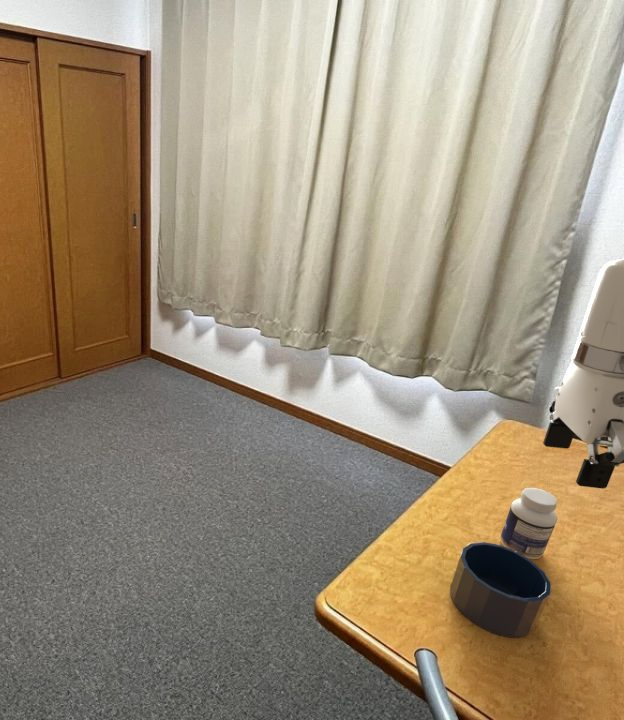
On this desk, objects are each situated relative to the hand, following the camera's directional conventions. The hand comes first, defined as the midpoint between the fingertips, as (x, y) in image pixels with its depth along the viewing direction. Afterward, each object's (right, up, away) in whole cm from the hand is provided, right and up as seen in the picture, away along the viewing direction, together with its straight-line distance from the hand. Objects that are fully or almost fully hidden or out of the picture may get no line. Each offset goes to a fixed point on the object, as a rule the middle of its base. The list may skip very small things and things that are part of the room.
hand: (571, 465), depth 69 cm
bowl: (-15, -18, -5) cm, 24 cm away
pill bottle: (-4, -14, +4) cm, 15 cm away
